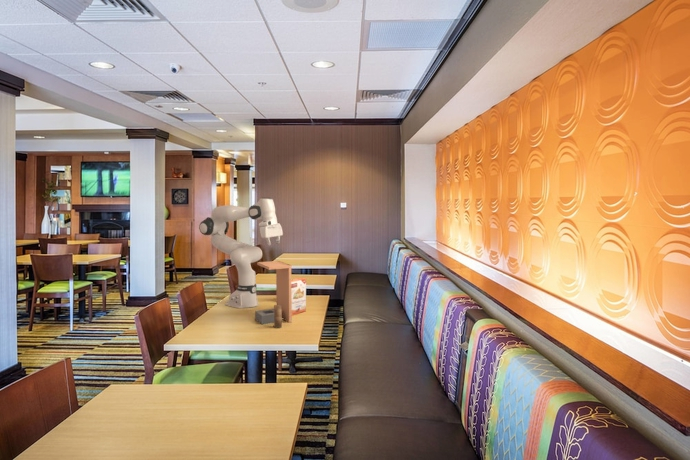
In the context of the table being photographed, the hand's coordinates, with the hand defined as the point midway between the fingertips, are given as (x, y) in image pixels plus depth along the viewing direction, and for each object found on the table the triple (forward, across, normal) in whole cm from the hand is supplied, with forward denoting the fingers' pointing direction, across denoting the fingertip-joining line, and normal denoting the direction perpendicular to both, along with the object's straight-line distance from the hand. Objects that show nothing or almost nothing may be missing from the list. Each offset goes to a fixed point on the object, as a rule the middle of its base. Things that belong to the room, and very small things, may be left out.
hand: (273, 244), depth 263 cm
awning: (+43, +19, +4) cm, 47 cm away
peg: (+45, +30, +14) cm, 56 cm away
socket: (+43, +22, +2) cm, 48 cm away
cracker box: (+44, +1, +8) cm, 45 cm away
